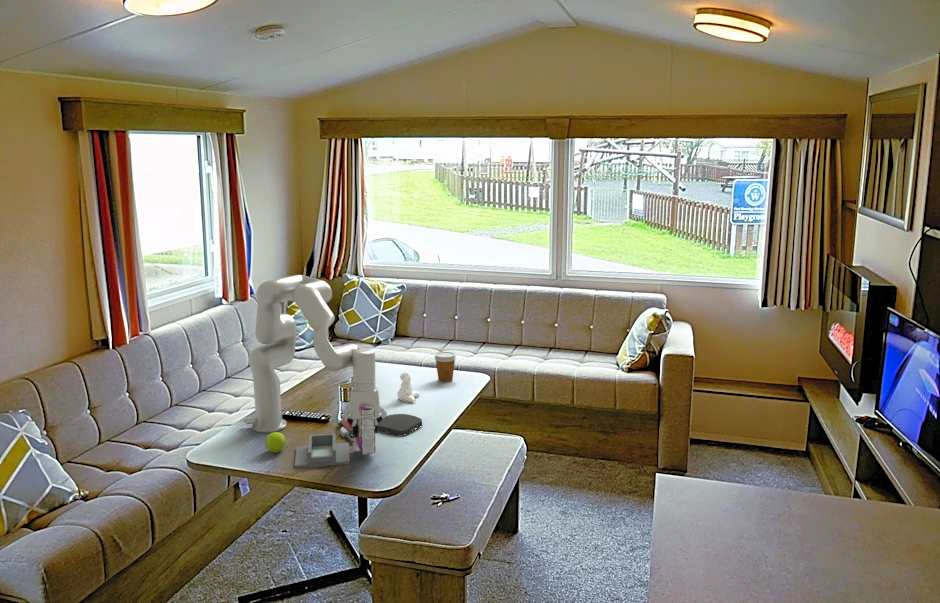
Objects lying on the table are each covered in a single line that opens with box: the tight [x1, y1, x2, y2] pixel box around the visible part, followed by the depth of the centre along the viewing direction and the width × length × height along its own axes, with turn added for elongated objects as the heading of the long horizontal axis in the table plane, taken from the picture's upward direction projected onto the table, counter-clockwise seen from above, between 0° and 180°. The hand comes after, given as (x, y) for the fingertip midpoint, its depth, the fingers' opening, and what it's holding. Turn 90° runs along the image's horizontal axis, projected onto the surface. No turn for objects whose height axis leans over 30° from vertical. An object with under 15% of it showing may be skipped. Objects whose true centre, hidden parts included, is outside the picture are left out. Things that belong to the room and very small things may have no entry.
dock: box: [294, 433, 351, 469], centre depth 260 cm, size 18×16×5 cm
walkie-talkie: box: [337, 418, 355, 444], centre depth 280 cm, size 9×4×20 cm
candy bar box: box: [355, 406, 376, 455], centre depth 260 cm, size 11×5×16 cm, turn 20°
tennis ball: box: [264, 431, 287, 454], centre depth 264 cm, size 7×7×7 cm
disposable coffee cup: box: [434, 351, 457, 383], centre depth 339 cm, size 10×10×12 cm
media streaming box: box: [377, 413, 423, 436], centre depth 286 cm, size 15×15×3 cm
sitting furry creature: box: [396, 371, 420, 404], centre depth 315 cm, size 10×9×12 cm
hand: (365, 435), depth 261 cm, fingers closed on candy bar box, 5 cm apart
